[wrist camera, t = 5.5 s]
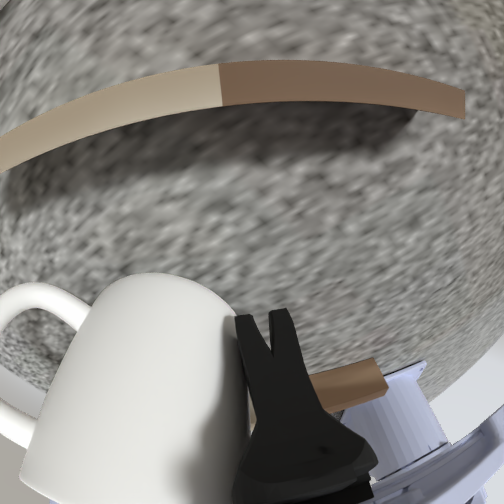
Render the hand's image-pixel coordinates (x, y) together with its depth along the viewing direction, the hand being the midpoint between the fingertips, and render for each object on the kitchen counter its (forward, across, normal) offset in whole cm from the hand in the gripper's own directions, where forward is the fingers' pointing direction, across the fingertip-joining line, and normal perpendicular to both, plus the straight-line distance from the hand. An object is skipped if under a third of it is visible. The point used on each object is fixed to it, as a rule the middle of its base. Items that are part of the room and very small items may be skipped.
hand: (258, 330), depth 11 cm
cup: (+3, +6, 0) cm, 6 cm away
